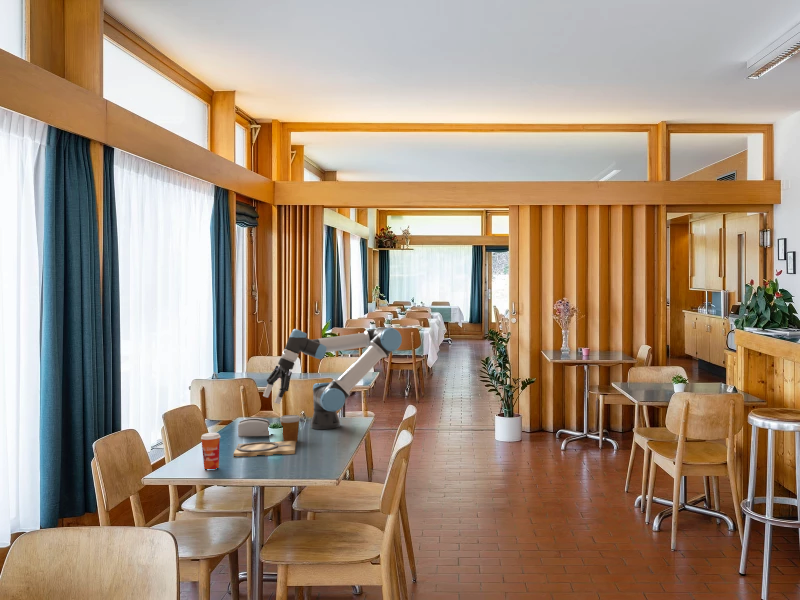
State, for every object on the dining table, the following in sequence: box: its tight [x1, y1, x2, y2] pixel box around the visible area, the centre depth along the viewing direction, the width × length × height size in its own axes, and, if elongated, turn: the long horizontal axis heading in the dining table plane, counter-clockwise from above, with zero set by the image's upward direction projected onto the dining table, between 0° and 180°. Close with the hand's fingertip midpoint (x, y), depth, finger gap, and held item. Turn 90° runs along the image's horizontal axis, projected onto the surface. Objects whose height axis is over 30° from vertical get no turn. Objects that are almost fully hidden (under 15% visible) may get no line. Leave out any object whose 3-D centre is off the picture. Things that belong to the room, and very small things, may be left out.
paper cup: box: [200, 432, 221, 469], centre depth 279 cm, size 8×8×14 cm
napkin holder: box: [237, 417, 271, 437], centre depth 345 cm, size 17×5×10 cm, turn 86°
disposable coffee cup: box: [279, 414, 301, 443], centre depth 327 cm, size 10×10×12 cm
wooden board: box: [233, 440, 297, 457], centre depth 310 cm, size 26×20×2 cm
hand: (270, 400), depth 340 cm, fingers open, 13 cm apart
